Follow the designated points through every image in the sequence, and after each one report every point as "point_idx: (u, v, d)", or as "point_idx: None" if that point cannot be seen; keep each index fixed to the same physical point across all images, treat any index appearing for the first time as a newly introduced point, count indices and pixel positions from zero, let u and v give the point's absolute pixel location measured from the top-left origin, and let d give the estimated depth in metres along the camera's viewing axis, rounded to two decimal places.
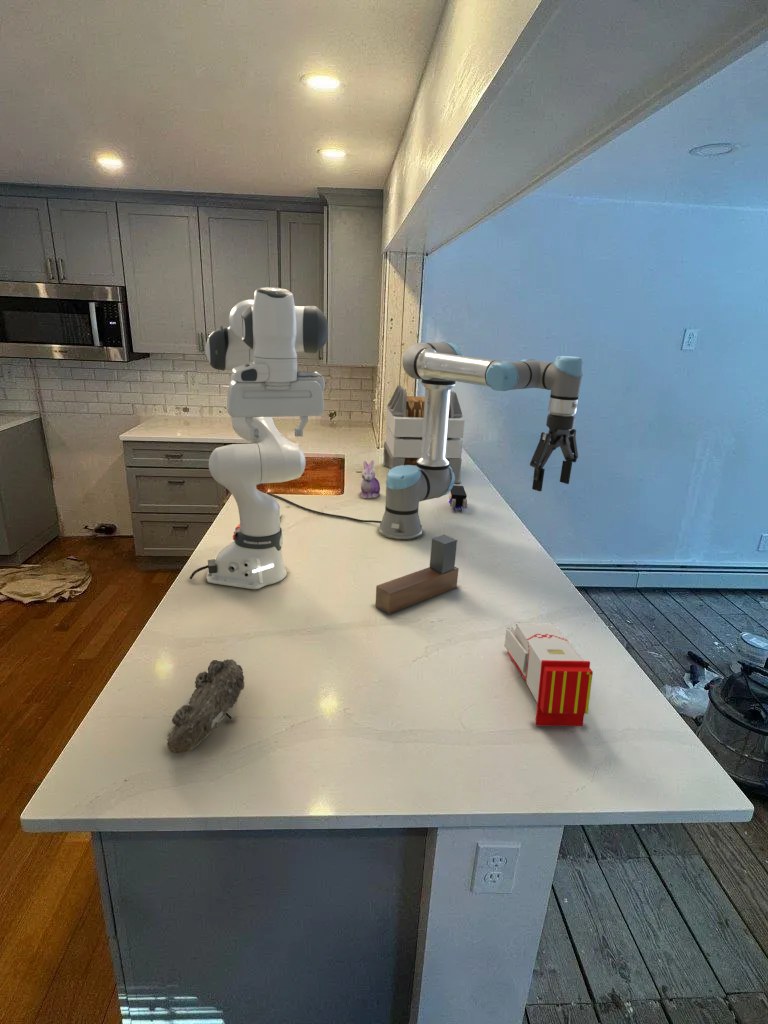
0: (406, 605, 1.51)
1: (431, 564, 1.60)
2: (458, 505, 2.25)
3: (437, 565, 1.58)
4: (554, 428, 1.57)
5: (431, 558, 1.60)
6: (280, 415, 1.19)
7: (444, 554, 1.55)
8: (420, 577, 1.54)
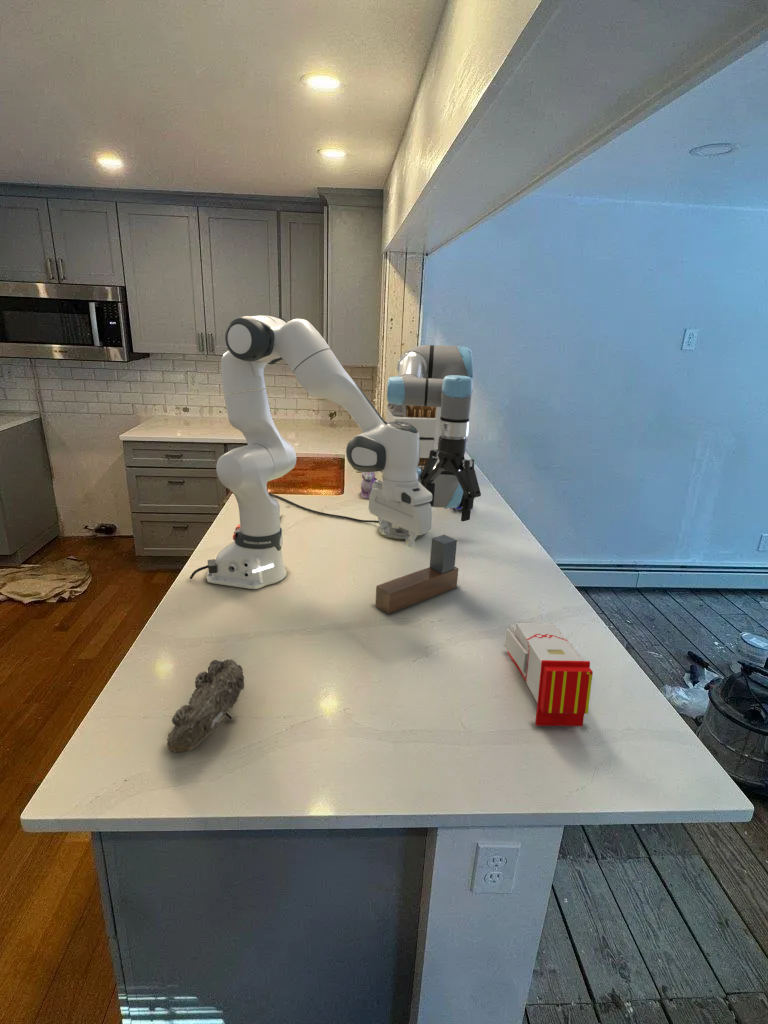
0: (406, 605, 1.51)
1: (431, 564, 1.60)
2: None
3: (437, 565, 1.58)
4: None
5: (431, 558, 1.60)
6: None
7: (444, 554, 1.55)
8: (420, 577, 1.54)
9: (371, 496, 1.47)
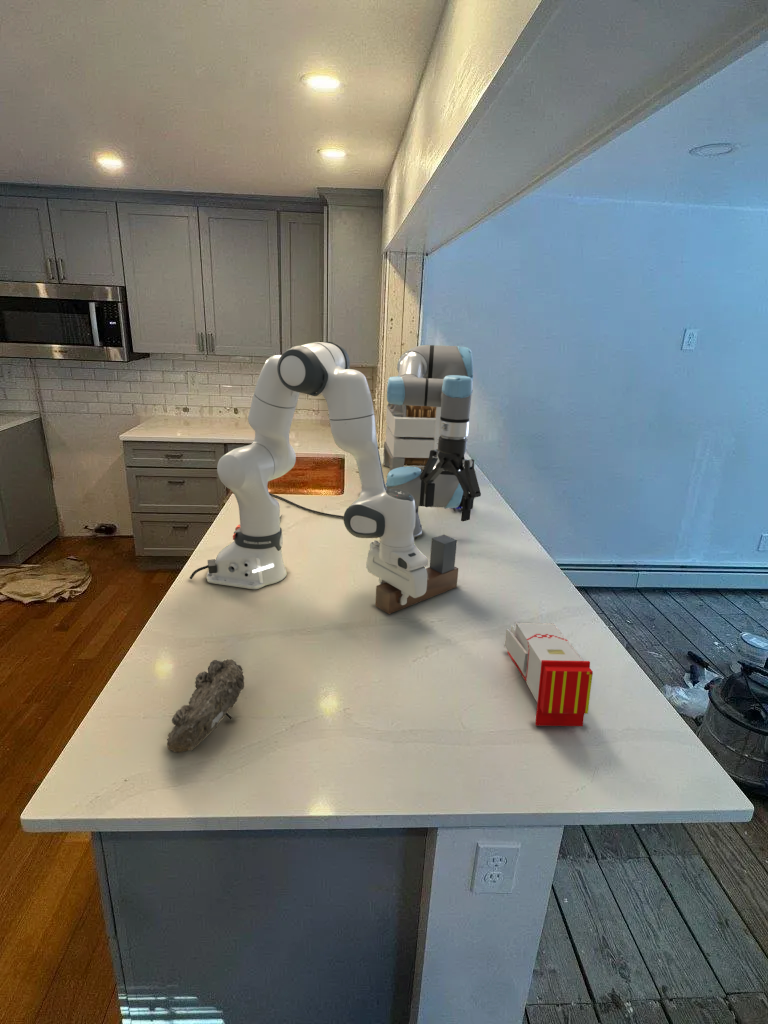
0: (406, 605, 1.51)
1: (431, 564, 1.60)
2: None
3: (437, 565, 1.58)
4: None
5: (431, 558, 1.60)
6: None
7: (444, 554, 1.55)
8: None
9: (369, 556, 1.52)
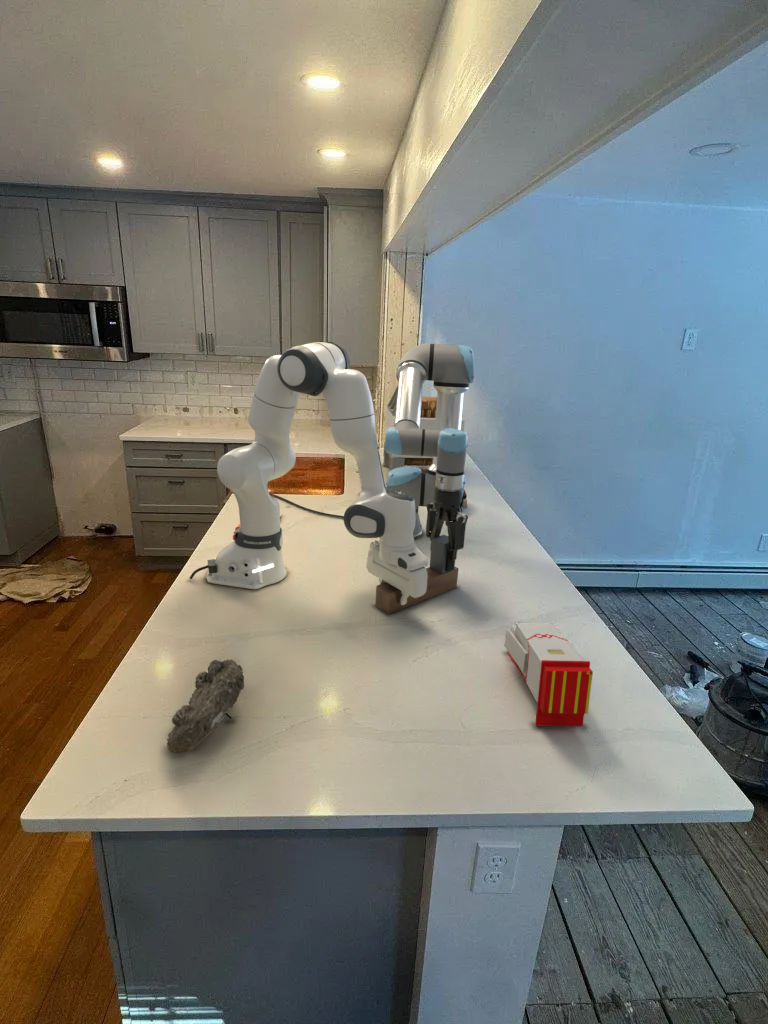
0: (406, 605, 1.51)
1: (431, 564, 1.60)
2: None
3: (437, 565, 1.58)
4: None
5: (431, 558, 1.60)
6: None
7: (444, 554, 1.55)
8: None
9: (369, 556, 1.52)
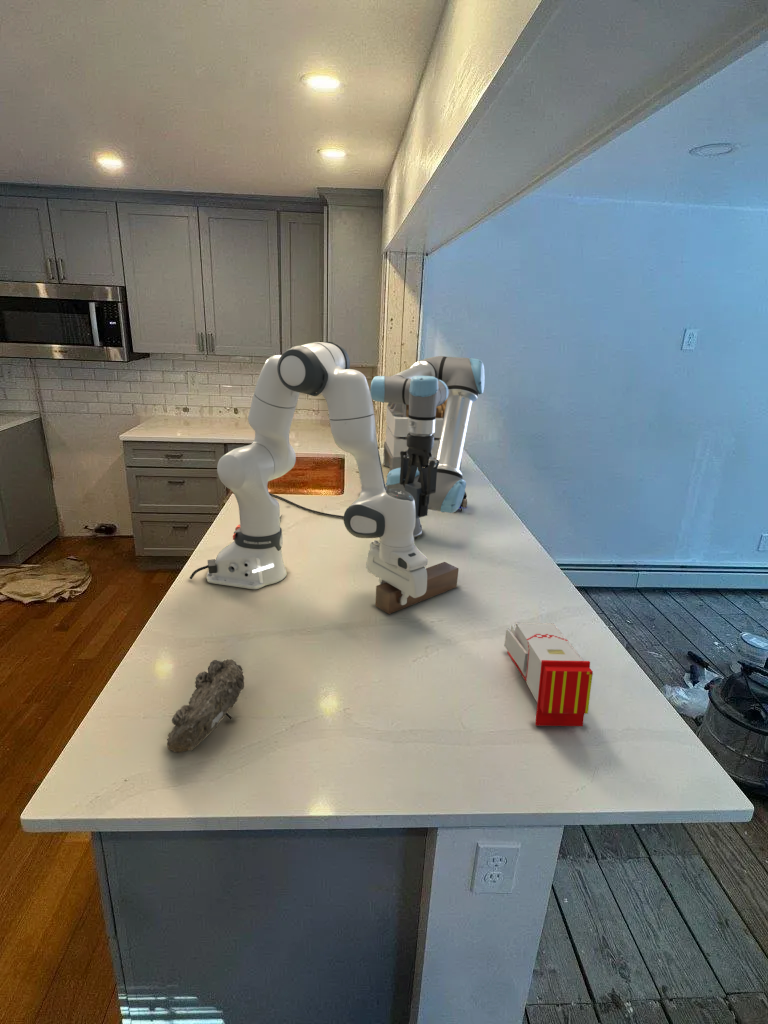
0: (406, 605, 1.51)
1: None
2: None
3: None
4: None
5: None
6: None
7: (416, 499, 1.60)
8: None
9: (369, 556, 1.52)
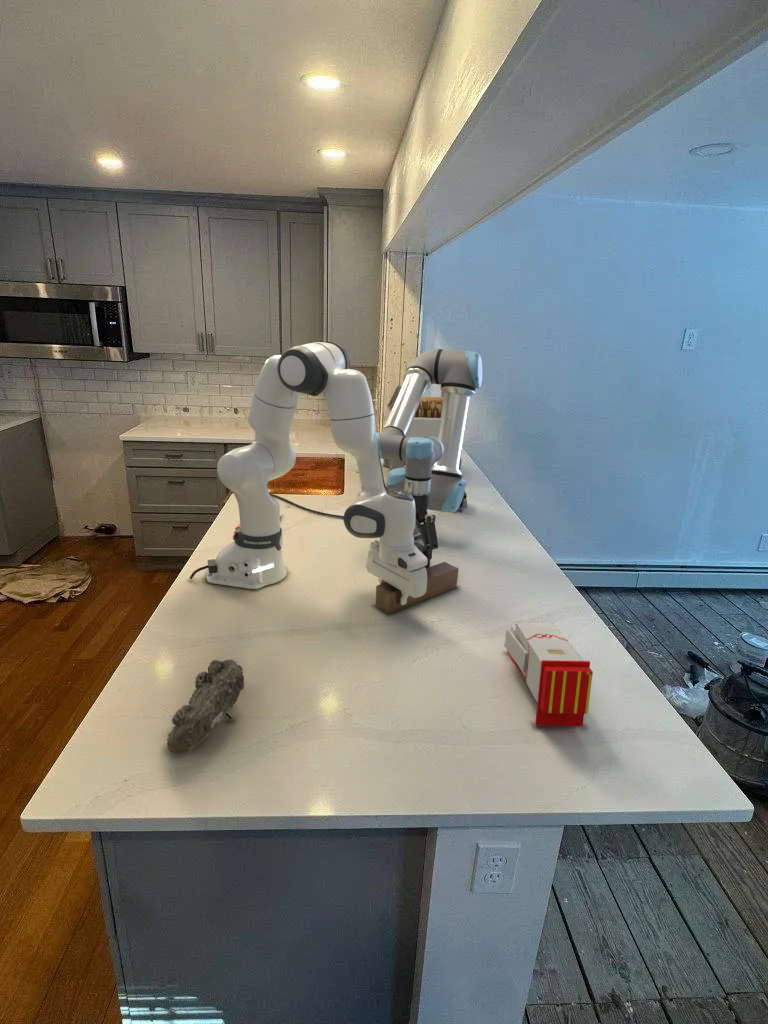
0: (406, 605, 1.51)
1: None
2: None
3: None
4: None
5: None
6: None
7: None
8: None
9: (369, 556, 1.52)
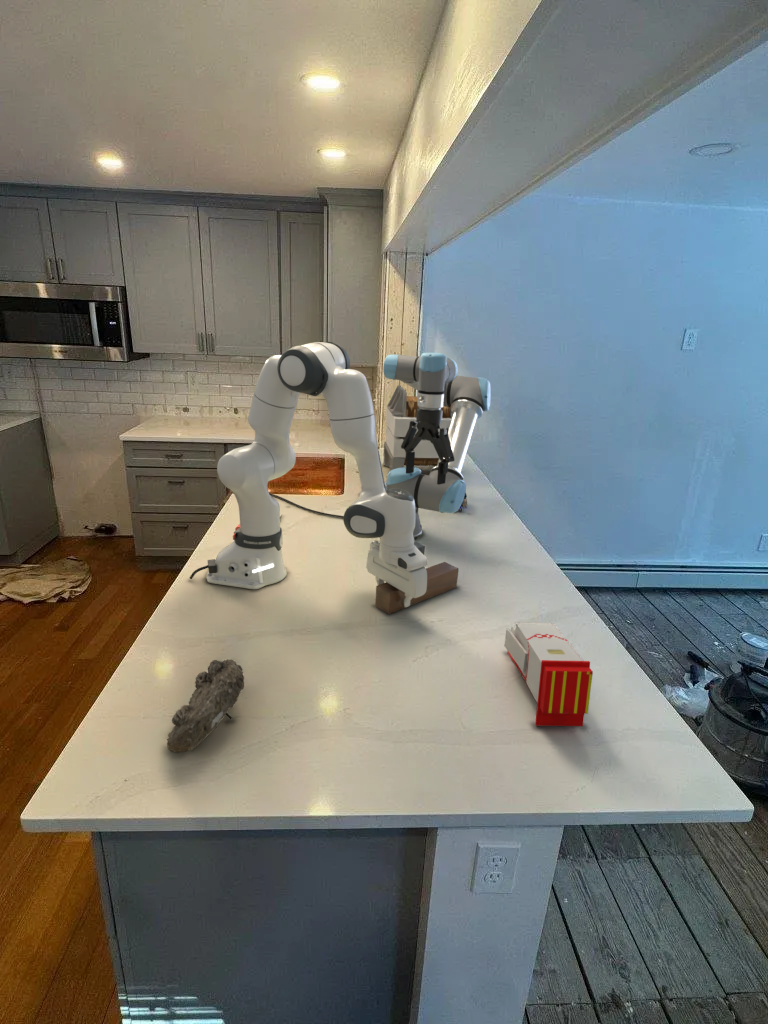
0: None
1: None
2: None
3: None
4: None
5: None
6: None
7: None
8: None
9: (369, 556, 1.53)
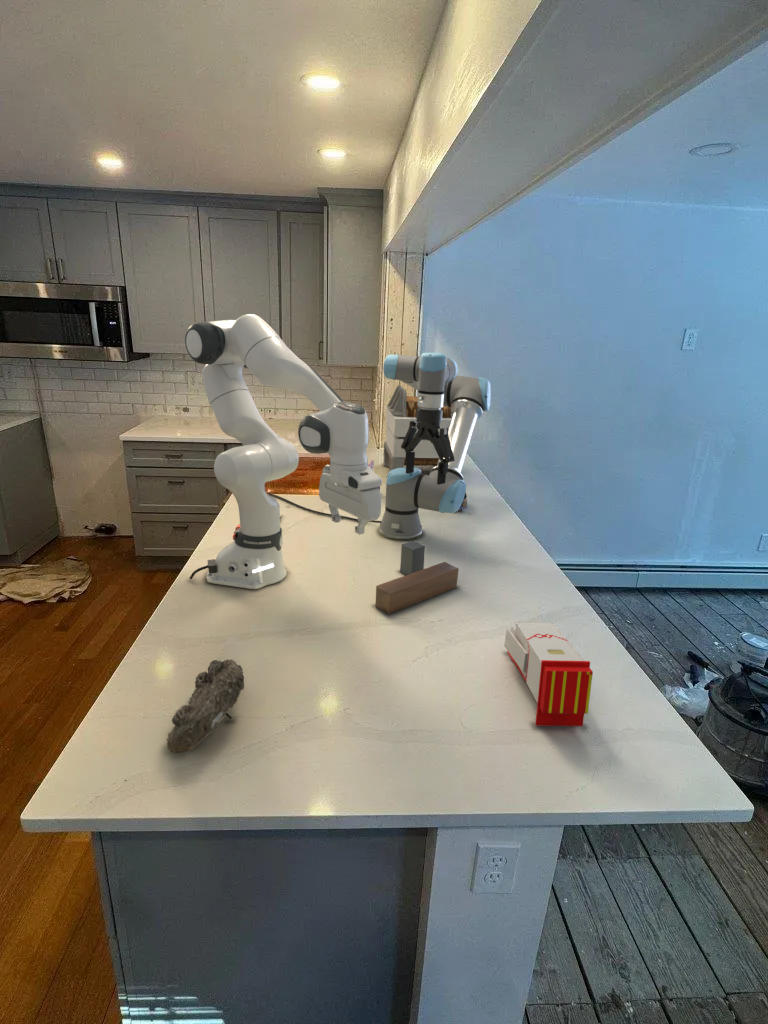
0: (406, 605, 1.51)
1: (401, 568, 1.70)
2: None
3: (406, 570, 1.69)
4: None
5: (401, 563, 1.70)
6: None
7: (412, 559, 1.66)
8: (420, 577, 1.54)
9: (321, 482, 1.40)
